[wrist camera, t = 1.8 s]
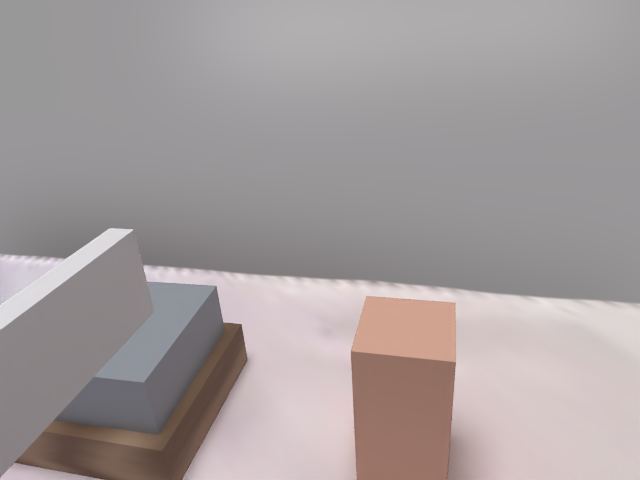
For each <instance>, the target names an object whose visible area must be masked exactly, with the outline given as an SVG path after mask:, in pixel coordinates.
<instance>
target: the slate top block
mask: <svg viewBox="0 0 640 480" xmlns="http://www.w3.org/2000/svg"><path fill="white" fill-rule="evenodd" d="M147 284H148V288H149V292H150V296H151V300H152V304H153V309H154V313H153V314H152V315H151V316H150V317H149V318H148V319H147V320H146V321H145V322H144V323H143V324H142V326H141V327H140V328H139V329H138V330H137V331H136V332H135V333H134V334H133V335H132V336H131V337H130V338H129V340H128V341H127V342H126V343H125V344H124V345H123V346H122V347H121V348H120V349H119V350H118V351H117V352H116V354H115V355H114V356H113V357H112V358H111V359H110V360H109V361H108V362H107V363H106V364H105V365H104V366H103V368H102V369H101V370H100V371H99V372H98V373H97V374H96V375H95V376H94V377H93V378H92V379H91V380H90V382H89V383H88V384H87V385H86V386H85V387H84V388H83V389H82V390H81V391H80V392H79V393H78V394H77V396H76V397H75V398H74V399H73V400H72V401H71V402H70V403H69V404H68V405H67V406H66V407H65V408H64V410H63V411H62V412H61V413H60V414H59V415H58V416H57V417H56V418H55V419H54V420H55V421H62V422H69V423H76V424H84V425H91V426H98V427H105V428H113V429H120V430H127V431H135V432H142V433H149V434H157V435H159V434H160V433H161V431H162V430H163V428H164V427H165V425H166V423H167V422H168V420H169V419H170V417H171V415H172V414H173V412H174V411H175V409H176V407H177V406H178V404H179V403H180V401H181V399H182V398H183V396H184V395H185V393H186V392H187V390H188V388H189V387H190V385H191V384H192V382H193V380H194V379H195V377H196V376H197V374H198V372H199V371H200V369H201V368H202V366H203V364H204V363H205V361H206V360H207V358H208V356H209V355H210V353H211V352H212V350H213V349H214V347H215V345H216V344H217V342H218V341H219V339H220V337H221V336H222V334H223V333H224V331H225V330H224V325H223V319H222V314H221V309H220V303H219V298H218V293H217V287H216V286H208V285H192V284H176V283H160V282H147Z"/></svg>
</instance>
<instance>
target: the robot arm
mask: <svg viewBox="0 0 640 480" xmlns="http://www.w3.org/2000/svg"><path fill="white" fill-rule="evenodd" d="M153 313H154V309H153V304H152V300H151V296H150V292H149V288H148V284H147V280H146V276H145V272H144V268H143V264H142V261H141V256H140V252H139V248H138V244H137V240H136V236H135V232H134V230H132V229H115V228H110V229H108V230H107V231H105V232H104V233H102V234H101V235H100V236H98V237H97V238H95V239H94V240H92V241H91V242H89V243H88V244H87V245H85V246H84V247H82V248H81V249H79V250H78V251H77V252H75V253H74V254H72V255H71V256H69V257H68V258H66V259H65V260H64V261H62V262H61V263H59V264H58V265H56V266H55V267H54V268H52V269H51V270H49V271H48V272H46V273H45V274H43V275H42V276H41V277H39V278H38V279H36V280H35V281H33V282H32V283H31V284H29V285H28V286H26V287H25V288H23V289H22V290H20V291H19V292H18V293H16V294H15V295H13V296H12V297H10V298H9V299H8V300H6V301H5V302H3V303H2V304H0V477H1V476H2V475H3V474H4V473H5V472H6V471H7V470H8V469H9V468H10V467H11V466H12V465H13V463H14V462H15V461H16V460H17V459H18V458H19V457H20V456H21V455H22V454H23V453H24V452H25V451H26V449H27V448H28V447H29V446H30V445H31V444H32V443H33V442H34V441H35V440H36V439H37V438H38V437H39V435H40V434H41V433H42V432H43V431H44V430H45V429H46V428H47V427H48V426H49V425H50V424H51V423H52V421H53V420H54V419H55V418H56V417H57V416H58V415H59V414H60V413H61V412H62V411H63V410H64V408H65V407H66V406H67V405H68V404H69V403H70V402H71V401H72V400H73V399H74V398H75V397H76V396H77V394H78V393H79V392H80V391H81V390H82V389H83V388H84V387H85V386H86V385H87V384H88V383H89V382H90V380H91V379H92V378H93V377H94V376H95V375H96V374H97V373H98V372H99V371H100V370H101V369H102V368H103V366H104V365H105V364H106V363H107V362H108V361H109V360H110V359H111V358H112V357H113V356H114V355H115V354H116V352H117V351H118V350H119V349H120V348H121V347H122V346H123V345H124V344H125V343H126V342H127V341H128V340H129V338H130V337H131V336H132V335H133V334H134V333H135V332H136V331H137V330H138V329H139V328H140V327H141V326H142V324H143V323H144V322H145V321H146V320H147V319H148V318H149V317H150V316H151V315H152V314H153Z"/></svg>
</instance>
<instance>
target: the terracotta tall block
mask: <svg viewBox="0 0 640 480" xmlns="http://www.w3.org/2000/svg"><path fill="white" fill-rule="evenodd" d="M351 364H352V385H353V407H354V428H355V450H356V471H357V480H447V474H448V461H449V447H450V434H451V420H452V407H453V393H454V380H455V366H456V317H455V303H452V302H439V301H425V300H412V299H399V298H386V297H373V296H366V299H365V303H364V306H363V310H362V313H361V317H360V321H359V324H358V328H357V331H356V335H355V338H354V342H353V345H352V349H351Z"/></svg>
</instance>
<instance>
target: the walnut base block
mask: <svg viewBox="0 0 640 480" xmlns="http://www.w3.org/2000/svg"><path fill="white" fill-rule="evenodd" d="M223 325H224V330H225V331H224V333H223V334H222V336H221V337H220V339H219V341H218V342H217V344H216V345H215V347H214V349H213V350H212V352H211V353H210V355H209V356H208V358H207V360H206V361H205V363H204V364H203V366H202V368H201V369H200V371H199V372H198V374H197V376H196V377H195V379H194V380H193V382H192V384H191V385H190V387H189V388H188V390H187V392H186V393H185V395H184V396H183V398H182V399H181V401H180V403H179V404H178V406H177V407H176V409H175V411H174V412H173V414H172V415H171V417H170V419H169V420H168V422H167V423H166V425H165V427H164V428H163V430H162V431H161V433H160V434H159V435H157V434H149V433H142V432H135V431H127V430H120V429H113V428H105V427H98V426H91V425H84V424H76V423H69V422H62V421H55V420H53V421H52V423H51V424H50V425H49V426H48V427H47V428H46V429H45V430H44V431H43V432H42V433H41V434H40V435H39V437H38V438H37V439H36V440H35V441H34V442H33V443H32V444H31V445H30V446H29V447H28V448H27V449H26V451H25V452H24V453H23V454H22V455H21V456H20V457H19V458H18V459H17V460H16V461H15V462H14V463H19V464H25V465H30V466H35V467H41V468H46V469H51V470H57V471H62V472H67V473H73V474H78V475H83V476H89V477H94V478H99V479H105V480H182V478H183V476H184V474H185V473H186V471H187V469H188V467H189V465H190V463H191V462H192V460H193V458H194V456H195V454H196V453H197V451H198V449H199V447H200V445H201V443H202V442H203V440H204V438H205V436H206V434H207V432H208V431H209V429H210V427H211V425H212V423H213V422H214V420H215V418H216V416H217V414H218V412H219V411H220V409H221V407H222V405H223V403H224V402H225V400H226V398H227V396H228V394H229V392H230V391H231V389H232V387H233V385H234V383H235V381H236V380H237V378H238V376H239V374H240V372H241V371H242V369H243V367H244V365H245V363H246V361H247V354H246V348H245V342H244V336H243V331H242V325H241V324H234V323H223Z"/></svg>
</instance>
